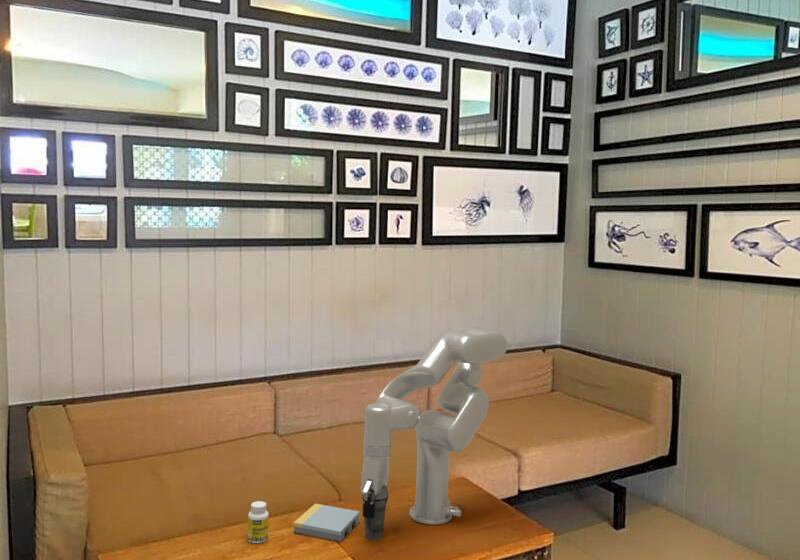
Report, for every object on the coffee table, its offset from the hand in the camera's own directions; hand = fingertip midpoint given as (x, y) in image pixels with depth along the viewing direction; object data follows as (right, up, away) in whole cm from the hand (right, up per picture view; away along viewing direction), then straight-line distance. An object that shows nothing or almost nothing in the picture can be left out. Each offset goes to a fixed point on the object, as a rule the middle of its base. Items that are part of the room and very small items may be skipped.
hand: (374, 510), depth 183 cm
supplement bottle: (-31, -7, -4) cm, 32 cm away
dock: (-14, -6, +5) cm, 16 cm away
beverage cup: (0, -8, +1) cm, 7 cm away
